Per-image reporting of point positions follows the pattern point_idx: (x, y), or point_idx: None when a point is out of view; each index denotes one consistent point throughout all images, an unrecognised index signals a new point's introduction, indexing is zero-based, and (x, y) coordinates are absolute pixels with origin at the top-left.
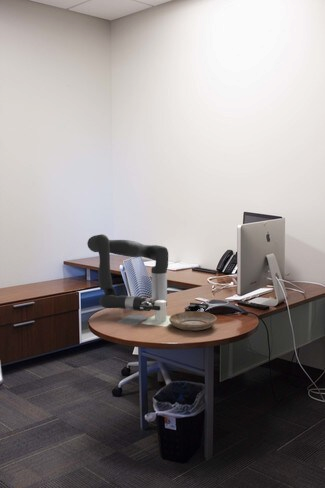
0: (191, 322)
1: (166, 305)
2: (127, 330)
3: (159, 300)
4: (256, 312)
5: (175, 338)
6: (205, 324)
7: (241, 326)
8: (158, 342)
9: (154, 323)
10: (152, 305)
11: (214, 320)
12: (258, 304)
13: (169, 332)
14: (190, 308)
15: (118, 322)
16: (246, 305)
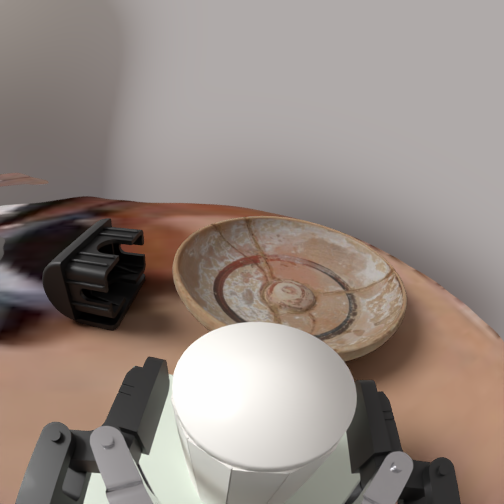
0: (245, 304)
1: (167, 379)
2: None
3: (206, 409)
4: (95, 202)
5: (444, 318)
6: (345, 235)
7: (228, 215)
8: (501, 342)
9: (347, 482)
10: (392, 458)
11: (296, 219)
12: (31, 203)
13: (415, 354)
14: (81, 289)
15: None
16: (27, 214)
